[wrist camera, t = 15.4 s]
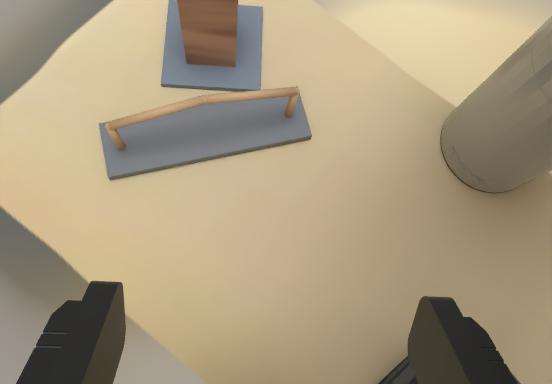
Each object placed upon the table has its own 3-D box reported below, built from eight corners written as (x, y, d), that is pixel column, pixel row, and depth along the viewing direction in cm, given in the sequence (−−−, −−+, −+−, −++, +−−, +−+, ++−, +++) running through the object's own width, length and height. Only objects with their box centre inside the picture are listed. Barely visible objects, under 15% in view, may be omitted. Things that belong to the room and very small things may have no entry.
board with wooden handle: (102, 129, 43) (78, 89, 36) (295, 92, 46) (308, 49, 39) (111, 181, 42) (88, 151, 35) (309, 140, 45) (325, 105, 38)
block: (189, 22, 46) (179, -60, 36) (237, 25, 46) (239, -55, 37) (186, 64, 45) (175, -9, 35) (235, 67, 45) (237, -5, 35)
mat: (169, 2, 47) (169, -1, 46) (262, 10, 48) (262, 6, 47) (161, 86, 44) (161, 83, 44) (259, 92, 45) (260, 89, 45)
